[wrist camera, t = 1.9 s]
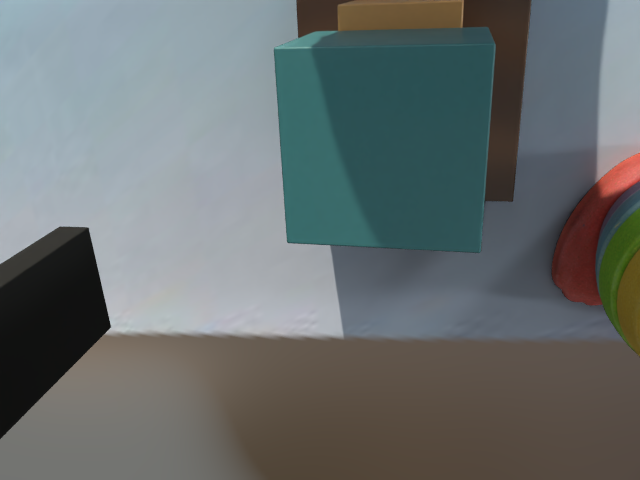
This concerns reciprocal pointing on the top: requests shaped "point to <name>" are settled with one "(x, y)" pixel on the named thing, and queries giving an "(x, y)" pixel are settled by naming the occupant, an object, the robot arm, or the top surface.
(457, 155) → the teal cube
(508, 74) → the walnut base
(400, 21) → the oak brick
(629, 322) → the stacking bear
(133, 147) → the top surface
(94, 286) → the robot arm
